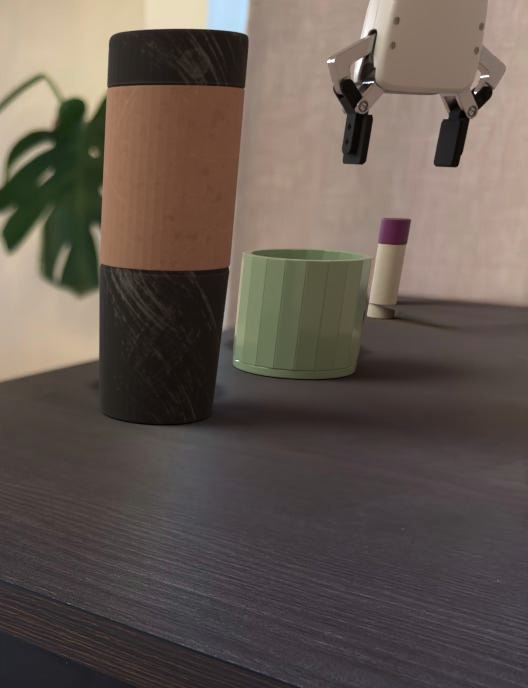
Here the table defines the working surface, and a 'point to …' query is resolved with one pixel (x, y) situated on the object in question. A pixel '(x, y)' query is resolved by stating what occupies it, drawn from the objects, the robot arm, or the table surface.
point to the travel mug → (167, 219)
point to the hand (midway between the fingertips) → (400, 165)
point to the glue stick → (388, 266)
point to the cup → (301, 312)
